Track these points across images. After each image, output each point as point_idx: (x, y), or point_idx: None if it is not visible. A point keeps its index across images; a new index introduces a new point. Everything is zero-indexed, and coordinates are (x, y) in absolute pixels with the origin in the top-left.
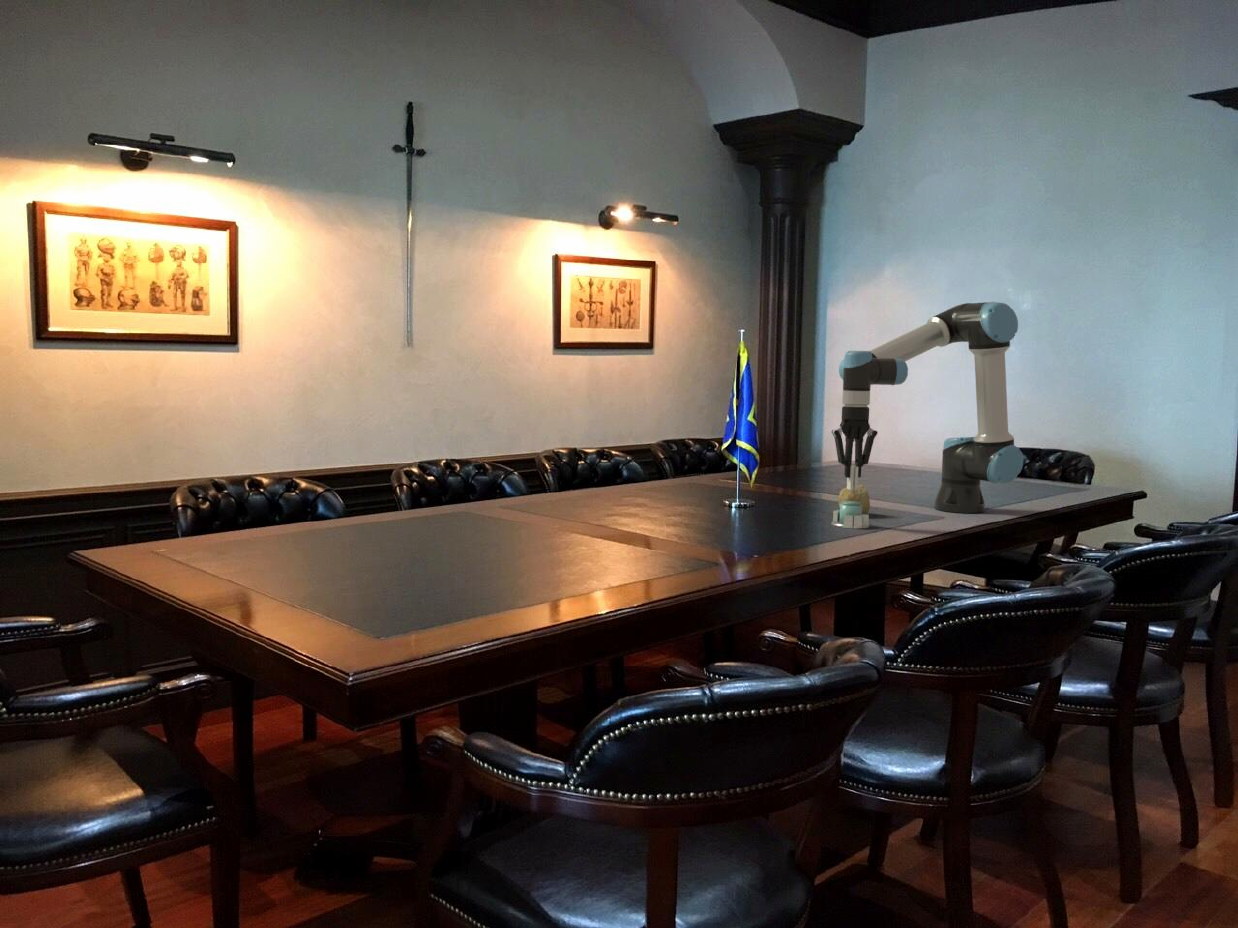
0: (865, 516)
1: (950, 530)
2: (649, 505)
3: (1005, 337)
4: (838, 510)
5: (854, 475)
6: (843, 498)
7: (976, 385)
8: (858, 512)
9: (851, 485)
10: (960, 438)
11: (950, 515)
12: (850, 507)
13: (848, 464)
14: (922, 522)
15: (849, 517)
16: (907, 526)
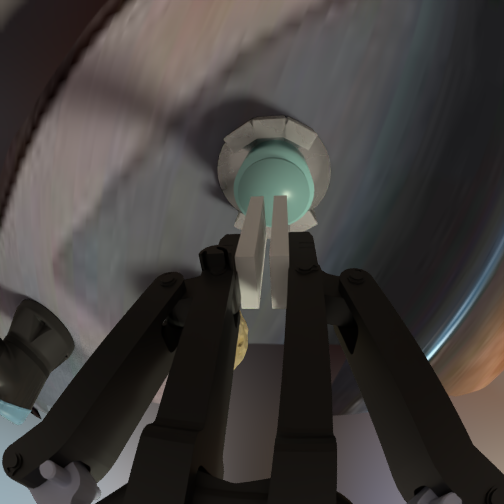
0: (239, 128)
1: (48, 122)
2: (499, 362)
3: None
4: (299, 227)
5: (259, 240)
6: (242, 330)
7: None
8: (257, 151)
9: (282, 203)
10: None
11: (48, 289)
12: (289, 153)
13: (313, 266)
14: (82, 219)
15: (299, 124)
16: (118, 161)
